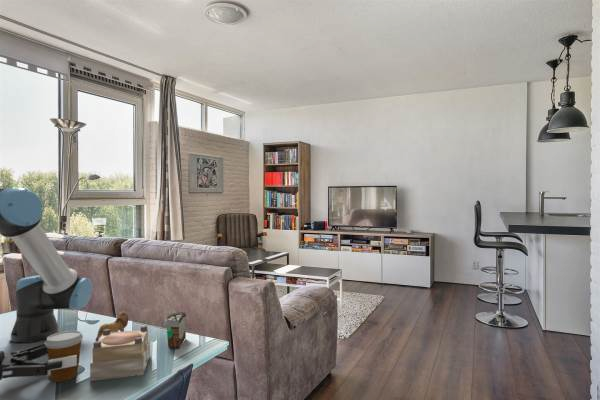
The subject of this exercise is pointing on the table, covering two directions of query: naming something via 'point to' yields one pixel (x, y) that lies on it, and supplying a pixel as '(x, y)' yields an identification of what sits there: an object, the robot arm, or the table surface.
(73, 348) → the disposable coffee cup
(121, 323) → the lion figurine
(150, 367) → the table surface
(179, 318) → the food container
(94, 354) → the wooden crate
